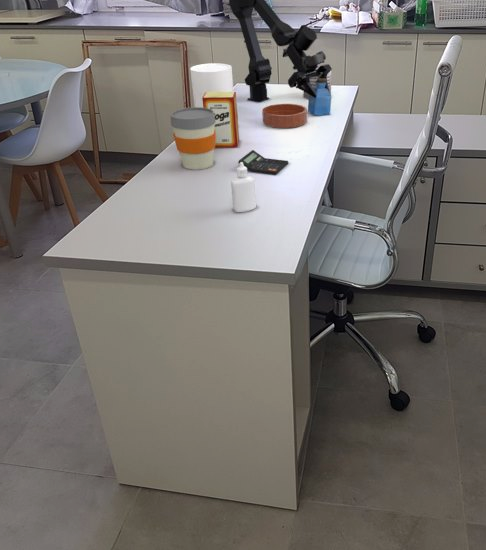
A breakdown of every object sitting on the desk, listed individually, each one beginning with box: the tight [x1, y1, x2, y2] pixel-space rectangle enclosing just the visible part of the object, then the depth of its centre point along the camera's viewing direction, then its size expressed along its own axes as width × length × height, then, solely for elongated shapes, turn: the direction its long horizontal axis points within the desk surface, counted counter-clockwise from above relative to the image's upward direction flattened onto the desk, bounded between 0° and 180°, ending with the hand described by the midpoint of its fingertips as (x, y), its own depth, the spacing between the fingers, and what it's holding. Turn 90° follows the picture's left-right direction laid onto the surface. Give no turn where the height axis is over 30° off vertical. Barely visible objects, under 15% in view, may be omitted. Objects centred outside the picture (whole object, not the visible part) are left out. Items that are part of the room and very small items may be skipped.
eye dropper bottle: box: [230, 162, 257, 213], centre depth 137 cm, size 4×6×12 cm
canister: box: [189, 62, 234, 108], centre depth 193 cm, size 14×14×20 cm
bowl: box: [261, 103, 308, 129], centre depth 201 cm, size 16×16×4 cm
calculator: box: [237, 149, 289, 176], centre depth 164 cm, size 9×12×3 cm
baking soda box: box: [202, 91, 240, 149], centre depth 179 cm, size 10×6×16 cm
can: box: [303, 64, 332, 100], centre depth 229 cm, size 11×11×12 cm
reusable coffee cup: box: [170, 106, 216, 170], centre depth 164 cm, size 13×13×15 cm
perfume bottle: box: [307, 78, 332, 116], centre depth 208 cm, size 6×6×12 cm
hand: (322, 95), depth 206 cm, fingers closed on perfume bottle, 7 cm apart
